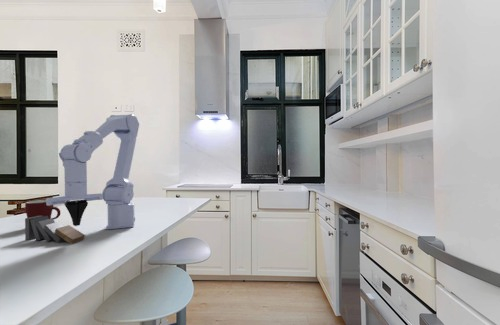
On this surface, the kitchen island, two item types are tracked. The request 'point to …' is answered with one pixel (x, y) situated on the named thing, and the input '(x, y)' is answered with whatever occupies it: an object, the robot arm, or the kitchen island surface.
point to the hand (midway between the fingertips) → (76, 225)
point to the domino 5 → (69, 234)
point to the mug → (40, 209)
